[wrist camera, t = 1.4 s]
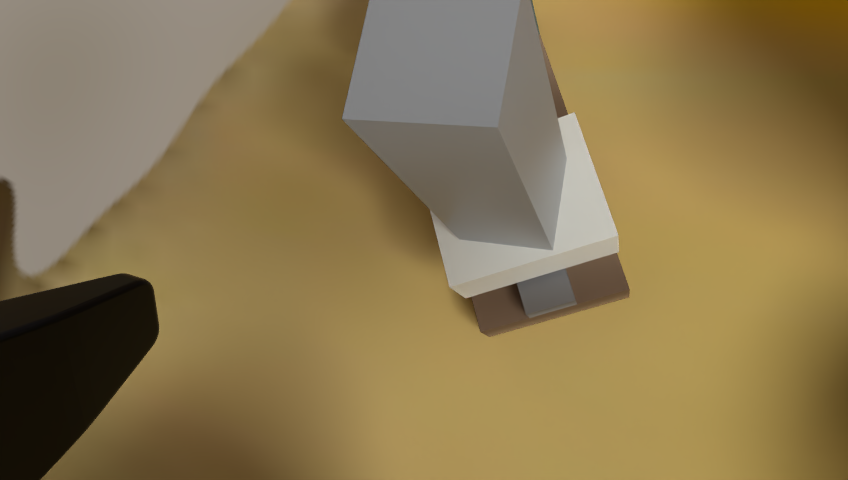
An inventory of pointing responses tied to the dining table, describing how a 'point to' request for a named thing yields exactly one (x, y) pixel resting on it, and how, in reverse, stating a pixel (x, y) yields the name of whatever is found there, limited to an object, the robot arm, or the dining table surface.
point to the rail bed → (551, 279)
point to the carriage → (478, 138)
